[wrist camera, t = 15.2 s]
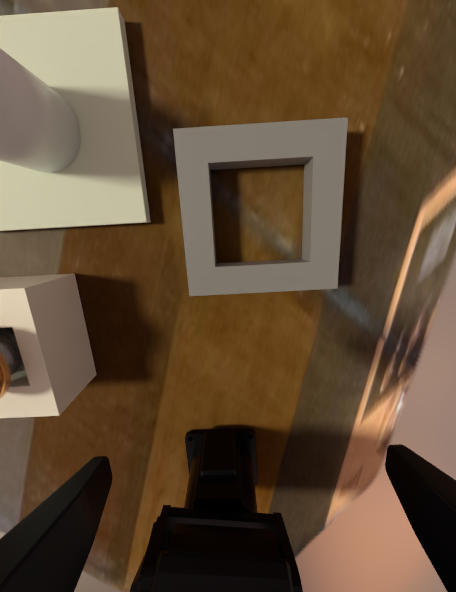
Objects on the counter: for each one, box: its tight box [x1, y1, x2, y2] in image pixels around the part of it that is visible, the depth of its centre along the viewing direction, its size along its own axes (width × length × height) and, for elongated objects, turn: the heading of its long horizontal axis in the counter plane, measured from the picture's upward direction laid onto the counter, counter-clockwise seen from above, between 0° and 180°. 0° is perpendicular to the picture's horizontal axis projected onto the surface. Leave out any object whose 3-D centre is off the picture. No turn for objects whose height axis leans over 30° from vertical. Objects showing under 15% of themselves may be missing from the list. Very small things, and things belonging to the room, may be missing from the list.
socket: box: [173, 118, 348, 296], centre depth 17 cm, size 11×11×2 cm
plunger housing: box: [0, 274, 97, 418], centre depth 18 cm, size 9×7×5 cm
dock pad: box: [0, 7, 151, 231], centre depth 17 cm, size 12×12×1 cm
